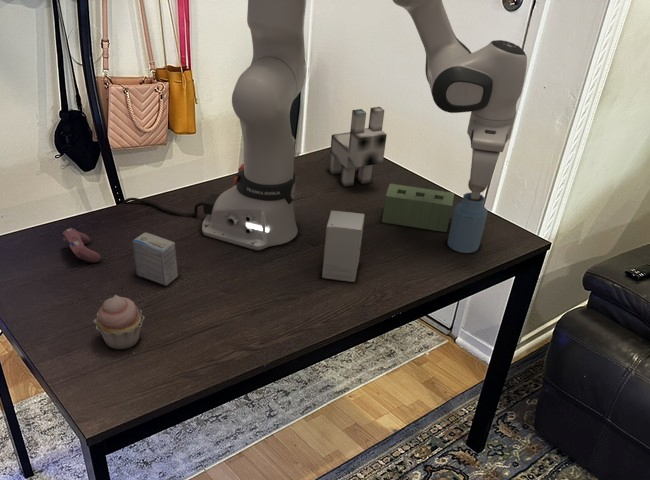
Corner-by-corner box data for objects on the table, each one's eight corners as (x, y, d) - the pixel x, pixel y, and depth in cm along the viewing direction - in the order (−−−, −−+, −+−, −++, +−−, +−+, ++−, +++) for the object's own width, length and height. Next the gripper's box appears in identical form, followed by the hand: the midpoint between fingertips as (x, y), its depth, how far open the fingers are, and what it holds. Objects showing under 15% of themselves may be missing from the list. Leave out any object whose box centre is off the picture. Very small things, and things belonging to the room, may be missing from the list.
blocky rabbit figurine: (349, 163, 195) (356, 89, 182) (379, 190, 183) (389, 114, 170) (324, 166, 193) (330, 92, 180) (353, 194, 181) (361, 117, 168)
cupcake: (146, 322, 138) (141, 279, 131) (147, 352, 131) (142, 309, 124) (97, 326, 136) (90, 282, 130) (96, 356, 129) (88, 312, 123)
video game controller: (74, 250, 160) (55, 229, 154) (90, 239, 160) (72, 217, 154) (86, 272, 153) (67, 250, 148) (103, 260, 153) (84, 238, 148)
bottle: (446, 250, 161) (456, 202, 154) (448, 234, 167) (458, 187, 159) (477, 255, 160) (489, 207, 152) (479, 239, 165) (491, 192, 157)
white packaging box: (355, 283, 150) (361, 230, 142) (321, 278, 151) (325, 225, 143) (359, 264, 156) (365, 213, 147) (326, 260, 157) (330, 208, 148)
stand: (381, 222, 170) (385, 195, 166) (385, 209, 175) (389, 183, 171) (446, 232, 168) (452, 205, 163) (449, 219, 172) (454, 192, 168)
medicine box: (178, 277, 150) (175, 241, 144) (165, 287, 147) (162, 251, 141) (149, 266, 153) (145, 231, 147) (136, 275, 150) (131, 240, 144)
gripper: (477, 107, 153) (464, 167, 162) (471, 143, 138) (457, 207, 147) (507, 110, 152) (492, 171, 161) (504, 148, 137) (488, 212, 146)
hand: (475, 188), depth 154 cm, fingers open, 7 cm apart
